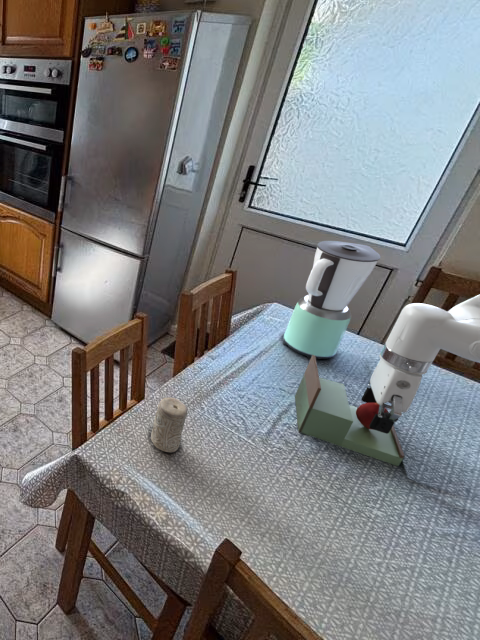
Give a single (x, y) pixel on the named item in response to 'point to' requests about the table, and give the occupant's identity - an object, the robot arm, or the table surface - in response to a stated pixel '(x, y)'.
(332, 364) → the table surface
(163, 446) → the carving
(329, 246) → the juicer
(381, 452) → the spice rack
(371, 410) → the onion
